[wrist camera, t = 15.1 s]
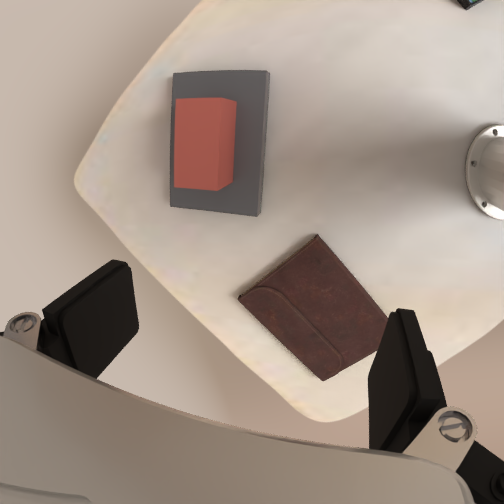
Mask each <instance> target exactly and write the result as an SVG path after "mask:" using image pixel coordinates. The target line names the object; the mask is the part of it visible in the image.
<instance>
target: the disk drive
mask: <svg viewBox="0 0 504 504" xmlns="http://www.w3.org/2000/svg"><path fill="white" fill-rule="evenodd" d="M482 1H483V0H458V2H459V3H460V4H461V5H462V6H463V7H464V9H465V10H468V9H470V8H471V7H473V6H475V5H476V4H478V3H480V2H482Z"/></svg>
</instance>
